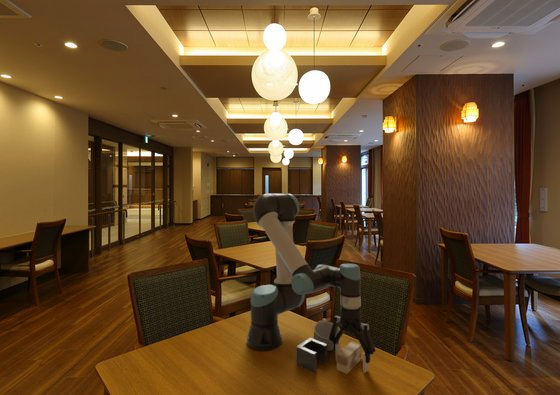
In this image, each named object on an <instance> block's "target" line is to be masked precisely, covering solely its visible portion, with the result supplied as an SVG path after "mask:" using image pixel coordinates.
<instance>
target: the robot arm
mask: <svg viewBox="0 0 560 395" xmlns="http://www.w3.org/2000/svg"><path fill="white" fill-rule="evenodd" d="M299 212H300V202H299V200H298V198H297V197H296V196H295V195H293V194H292V193H284V192H283V193H282V192H281V193H269V192H268V193H264V194H261V195H259V197H257V199H256V200H255V201H254V204H253V207H252V213H253V217H254V221H255V222H256V224H257V225H258V227H260V228H262V229H263V230H264V232H265V234H266V235H267V238H269V240H270V242H271V243H272V245H273V247H274V249H275V264H276V266H275V268H276V278H275V279H274V281H273V284H266V285H265V284H263V285H259V286H257V287H255V288H254V289H253V290H252V291H251V294H250V295H251V296H250V326H249V330H248V334H247V337H246V344H247V346H248V347H249V348H251V349H252V350H255V351H259V352H260V351H264V352H265V351H272V350H275V349H277V348H279V347H280V346H281V345H282V343H283V342H282V341H283V338H282V337H283V335H282V333H281V331H280V330H281V329H280V327H279V322H278V321H279V319H278V318H279V315H280V314H283V313H286V312H289V311H291V310H296V309H297V308H298V307H300V306H301V305H302V304H303V303H304V301H305V297H306V295H307V294H310V293H311V294H312V292H315V291H318V290H321V289H325V288H327V287H334V288H338V289H339V293H340V295H339V296H340V302H339V303H340V316H339V315H338V314H337V315H335V316H333V319H332V320H333V322H332V323H333V326H332V329H331V333H330V336H329V340H331V341H333V343H334V350H333V351H334V352H335V362H336V363H337V353H338V352H340V351H341V350H342V347H341V345H342V344H341V341H340V339H341V338H342V336H343V335H344V334H345V332H349V333H352V334H354V336H355V337H356V338H357V340H358V342H359V344H361V349H362V351H363V353H362V373H366V372H367V371H368V370H369V364H370V362H371V355H373V354H375V352H376V351H377V350H376V347H375V344H374V340H373V337H372V334H371V330H370V323H368V322H367V323H363V322H362V320H361V319H362V308H361V306H362V300H361V297H362V294H361V279H362V275H361V267H360V266H359V265H358V264H355V263H342V264H340V265H339V267H336V266H332V265H328V264H317V266H316V267H314V269H312V268H311V267H310V265H309V264H308V262H307V261H306V259H305V258H304V256H303V255H302V253H301V252H300V250H299V249H298V247H297V245H296V243H294V235H293V234H294V233H293V224H294V223H295V222H296V216H298V215H299ZM340 323H341V325H342V326H341V327H340V328H339V329H340V331H339V332H338V334H337V335H336V331H337V328H338V327H339V324H340ZM361 328H362V329H361ZM335 335H336V337H335ZM338 341H339V342H338Z"/></svg>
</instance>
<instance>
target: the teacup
mask: <svg viewBox="0 0 560 395" xmlns="http://www.w3.org/2000/svg"><path fill="white" fill-rule="evenodd" d="M332 326H333V322H331V321H327V319H326V317H325V318H322V319H321V321H320V322H317V323H315V325H314V326H313V339H315V340H318V341H320V342H323V343H325V344H327V352H330V351H334V343H333V341H331V340H329V336H330V333H331V329H332ZM340 329H341V328H340V327H339V326H338V328H337V331H336V335H337V334H338V332H339V331H340ZM336 335H335V337H336ZM338 342H340V340H339V341H338Z"/></svg>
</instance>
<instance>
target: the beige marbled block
mask: <svg viewBox="0 0 560 395" xmlns="http://www.w3.org/2000/svg"><path fill="white" fill-rule="evenodd" d="M360 361H362V346H361V344H360V342H359V343H358V342H355V341H353V340H351V342H348V344H347V345H346V346H345V347H343V348H341V351H340V352H338V353H337V362H336V370H337V371H339V372H341V373H344V374H346V375H348V373H350V371H352V369H353V368H355V366H356V365H357V364H358V363H359V362H360Z"/></svg>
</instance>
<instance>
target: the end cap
mask: <svg viewBox="0 0 560 395" xmlns="http://www.w3.org/2000/svg"><path fill="white" fill-rule="evenodd" d="M295 350H296V360H295V361H296V365H295V366H298V367H300V368H302V369H305V371H308V372H310V373H312V374H315V373H316V372H317V362H319V363H322V364H324V365H326V364H327V363H328V351H327V344H325V343H323V342H320V341H318V340H315V339H314V338H312V337H309V338H308V339H306V340H304V341H303V342H301V343H299V344H298V345H297V346H296V348H295Z"/></svg>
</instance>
